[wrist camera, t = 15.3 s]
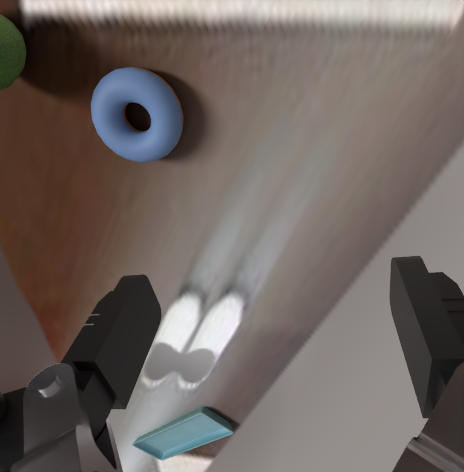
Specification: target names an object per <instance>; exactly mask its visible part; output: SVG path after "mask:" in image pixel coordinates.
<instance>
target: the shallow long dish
mask: <svg viewBox="0 0 464 472" xmlns="http://www.w3.org/2000/svg"><path fill="white" fill-rule="evenodd" d="M233 433H234V432H233V429H232V427H231V424H230V423H229V422H228V421H227V420H225V419H223V418H222V417H220V416H219V415H217V414H216V413H214V412H212V411H211V410H209V409H208V408H206V407H202V408H200V409H197V410H195V411H193V412H191V413H189V414H187V415H185V416H182V417H180V418H178V419H176V420H174V421H172V422H170V423H168V424H166V425H164V426H162V427H160V428H158V429H155V430H153V431H151V432H149V433H147V434H145V435H143V436H141V437H139V438H138V439H137V440H136V441H135V442H134V443H133V444H132V445H133V446H135V447H137V448H138V449H140V450H142V451H144V452H146V453H148V454H150V455H152V456H153V457H155V458H157V459H159V460H165V459H167V458H170V457H173V456H175V455H178V454H180V453H183V452H186V451H188V450H191V449H194V448H196V447H199V446H201V445H204V444H207V443H209V442H212V441H215V440H218V439H220V438H223V437H226V436H228V435H231V434H233Z"/></svg>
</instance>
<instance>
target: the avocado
mask: <svg viewBox="0 0 464 472" xmlns="http://www.w3.org/2000/svg"><path fill="white" fill-rule="evenodd" d="M25 59H26V47H25V43H24V39H23V36H22V34H21V33H20V32H19V31H18V29H17V28H16V27H15V25H14V24H13V23H12V22H11V21H10V20H8V19H7V18H6V17H4V16H3V15H1V14H0V91H1V90H3V89H5V88H7V87H9V86H10V85H11V84H12V83H13V82H14V81H15V80H16V78H17V77H18V76H19V75H20V73H21V71H22V70H23V68H24V65H25Z"/></svg>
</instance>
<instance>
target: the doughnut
mask: <svg viewBox="0 0 464 472" xmlns="http://www.w3.org/2000/svg"><path fill="white" fill-rule="evenodd" d="M130 102H134V103H138V104H140V105H142V106H143V107H144V108H146V109H147V111H148V113H149V114H150V117H151V126H150V128H149V129H148V130H147V131H140V130H137V129H135V128H134V127H132V126H131V125H130V124H129V122H128V120H127V118H126V115H125V109H126V106H127V105H128V104H129V103H130ZM91 111H92V120H93V123H94V125H95V128H96V130H97V133H98V134H99V136H100V137H101V139H102V140H103V141H104V143H105V144H106V145H107V146H108V147H109V148H110V149H112V150H113V151H114V152H115V153H116V154H118V155H120V156H122V157H124V158H126V159H128V160H132V161H138V162H151V161H156V160H158V159H160V158H162V157H164V156H166V155H168V154H169V153H170V152H171V151H172V149H173V148H174V147H175V146H176V145H177V144H178V142H179V139H180V137H181V134H182V132H183V119H184V116H183V112H182V108H181V104H180V101H179V99H178V97H177V96H176V94H175V92H174V90H173V89H172V87H171V86H170V85H169V84H168V83H167V82H166V81H165V80H163V79H162V78H161V77H160V76H158V75H156V74H155V73H153V72H151V71H149V70H147V69H142V68H136V67H127V68H121V69H116V70H113V71H112V72H110V73H109V74H107V75H106V76H104V77H103V78H102V79H101V80H100V82H99V83H98V85H97V86H96V88H95V89H94V92H93V97H92V101H91Z"/></svg>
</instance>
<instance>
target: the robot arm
mask: <svg viewBox="0 0 464 472" xmlns="http://www.w3.org/2000/svg"><path fill="white" fill-rule="evenodd" d="M390 306H391V312H392V316H393V319H394V323H395V326H396V329H397V333H398V336H399V340H400V343H401V346H402V349H403V352H404V356H405V360H406V363H407V366H408V370H409V373H410V376H411V380H412V383H413V386H414V390H415V393H416V396H417V400H418V403H419V406H420V409H421V413H422V416H423V418H429V419H428V420H427V422H426V424H425V426H424V428H423V429H422V431H421V433H420V434H419V436H418V437H417V438H416V437H414V438H413V439H412V440H411V441H410V442H409V443H408V445H407V446H406V448H405V450H404V451H403V453H402V455H401V457H400V459H399V460H398V462H397V464H396V466H395V468H394V470H393V471H392V472H464V295H463V293H462V292H461V290H460V288H459V286H458V284H457V283H455V282H454V281H453V280H452V279H450V278H449V277H448V276H447V275H445V274H444V273H443V272H436V273H429V272H428V270H427V268H426V266H425V264H424V262H423V260H422V258H421V257H420V256H411V257H397V258H392V260H391V277H390ZM160 321H161V308H160V304H159V302H158V300H157V297H156V295H155V293H154V291H153V288H152V286H151V284H150V281H149V279H148V277H147V276H146V275H131V276H123V277H122V278H121V279H120V281H119V282H118V284H117V286H116V287H115V289H114V291H110V292H109V293H108V294H107V295H106V296H105V297H103V298H102V299H101V300H100V301H99V302H98V304H97V305H96V307H95V308H94V310H93V312H92V313H91V316H89V318H88V320H87V321H86V323H85V326H83V328H82V329H81V331H80V332H79V334H78V336H77V337H76V339H75V340H74V342H73V344H72V345H71V347H70V348H69V350H68V352H67V353H66V355H65V356H64V358H63V360H62V361H61V363H58V364H54V365H51V366H49V367H47V368H45V369H43V370H42V371H41V372H39V373H38V374H37V375H36V376H35V377H34V378H33V379H32V380H31V381H30V382H29V384H28V385H27V387H25V388H21V389H18V390H15V391H12V392H9V393H5V394H2V393H1V392H0V472H123V470H122V466H121V462H120V458H119V455H118V451H117V447H116V443H115V439H114V435H113V431H112V427H111V423H110V421H109V419H108V415H109V413H110V411H111V409H126V407H127V404H128V402H129V399H130V397H131V394H132V392H133V389H134V387H135V384H136V382H137V379H138V377H139V374H140V372H141V369H142V367H143V364H144V362H145V360H146V357H147V355H148V352H149V350H150V347H151V345H152V342H153V340H154V337H155V335H156V332H157V330H158V327H159V325H160Z"/></svg>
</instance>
